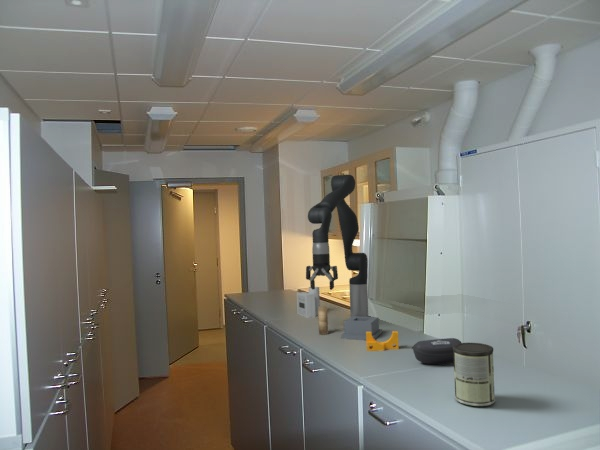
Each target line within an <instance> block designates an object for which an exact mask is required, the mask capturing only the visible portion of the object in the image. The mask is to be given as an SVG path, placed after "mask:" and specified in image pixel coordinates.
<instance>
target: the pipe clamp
mask: <svg viewBox="0 0 600 450" xmlns="http://www.w3.org/2000/svg"><path fill="white" fill-rule="evenodd" d="M365 342H366V343H365V344H366V352H382V351H385V350H399V349H400V348H399V347H400V346H399V331H398V330H397V331H396V330H392V332H391V335H390V338H389V339H387V340H385V341H378V340H377V339H374V338H373V336H372V333H371V332H366V340H365Z"/></svg>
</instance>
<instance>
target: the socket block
mask: <svg viewBox="0 0 600 450" xmlns="http://www.w3.org/2000/svg"><path fill="white" fill-rule="evenodd" d="M379 320H380V318H379V317H378V316H368V317H359V316H352V317H351V316H349V318H347V319H345V320H344V321H343V333H342V334H340V339H345V340H360V341H366V332H371V333H372V336H373V338H374V339H375V340H377V338H379V336H380V335H381V334H382V333H383V329H382V328H380V326H379V325H380V322H379Z"/></svg>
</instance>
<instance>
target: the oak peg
mask: <svg viewBox="0 0 600 450" xmlns="http://www.w3.org/2000/svg"><path fill="white" fill-rule="evenodd" d="M328 318H329V317H328V307H327V306H323V305H322V306H320V307H318V335H319V336H327V335H329V321H328V320H329V319H328Z"/></svg>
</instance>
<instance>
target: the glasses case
mask: <svg viewBox="0 0 600 450" xmlns="http://www.w3.org/2000/svg"><path fill="white" fill-rule="evenodd" d="M459 343H463V342H462V341H461V340H460V339H459V338H456V337H455V338H454V337H449V338H436V339H425V340H420V341H417V342H416V343H415V344H414V345H412V347H411V349H412V350H413V354H414V357H415V359H416V360H417V361H418V362H419V363H423V364H428V365H429V364H431V365H444V364H449V363H454V352H453V346H454V345H456V344H459Z"/></svg>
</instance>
